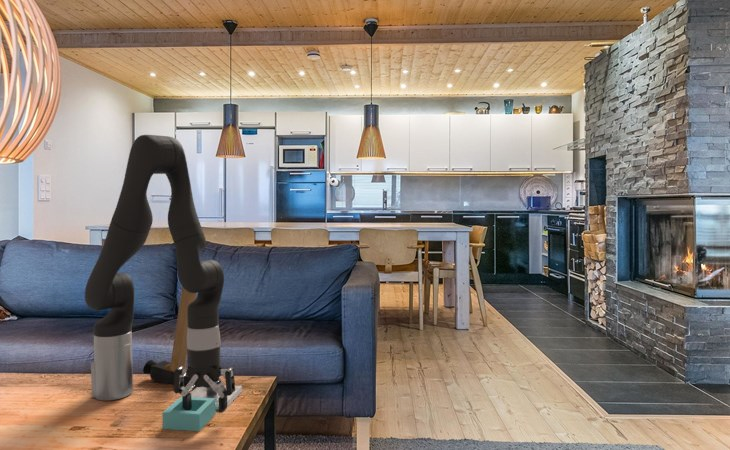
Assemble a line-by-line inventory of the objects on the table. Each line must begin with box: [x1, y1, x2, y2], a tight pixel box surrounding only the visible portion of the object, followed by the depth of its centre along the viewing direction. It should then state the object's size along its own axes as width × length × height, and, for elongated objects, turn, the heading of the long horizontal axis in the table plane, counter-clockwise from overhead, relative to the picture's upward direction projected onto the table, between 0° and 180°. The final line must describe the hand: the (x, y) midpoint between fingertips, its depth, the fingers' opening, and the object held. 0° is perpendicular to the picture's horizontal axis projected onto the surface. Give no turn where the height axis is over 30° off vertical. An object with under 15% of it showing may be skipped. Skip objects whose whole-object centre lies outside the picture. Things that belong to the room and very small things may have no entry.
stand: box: [190, 383, 243, 410], centre depth 129 cm, size 12×12×8 cm
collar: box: [161, 396, 217, 432], centre depth 117 cm, size 9×9×4 cm
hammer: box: [142, 286, 197, 388], centre depth 140 cm, size 20×5×30 cm, turn 76°
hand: (205, 410), depth 116 cm, fingers open, 8 cm apart
